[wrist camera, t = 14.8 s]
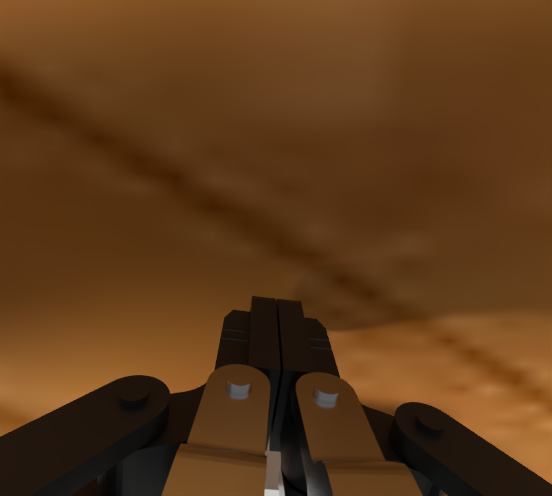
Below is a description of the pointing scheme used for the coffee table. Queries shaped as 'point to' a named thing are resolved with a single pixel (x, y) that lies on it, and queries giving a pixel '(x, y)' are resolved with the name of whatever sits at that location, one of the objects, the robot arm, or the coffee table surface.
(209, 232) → the coffee table surface
